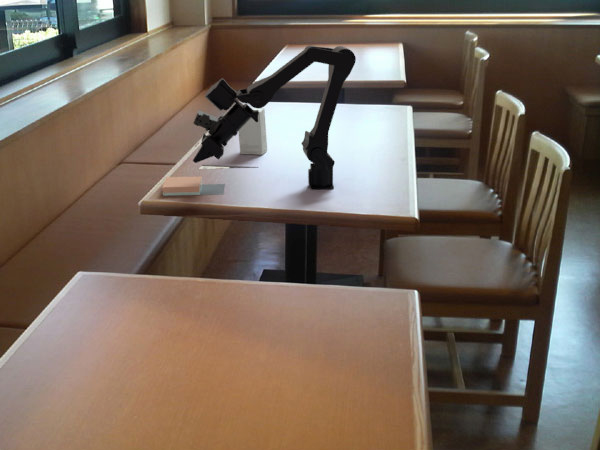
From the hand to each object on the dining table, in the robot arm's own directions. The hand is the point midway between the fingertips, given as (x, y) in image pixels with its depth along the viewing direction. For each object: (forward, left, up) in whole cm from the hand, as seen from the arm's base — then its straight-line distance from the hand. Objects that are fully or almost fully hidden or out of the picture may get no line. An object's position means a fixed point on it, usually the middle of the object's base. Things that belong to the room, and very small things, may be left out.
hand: (194, 161), depth 185 cm
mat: (-1, 0, -9) cm, 9 cm away
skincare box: (-16, -40, -9) cm, 43 cm away
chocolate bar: (-8, -19, -9) cm, 22 cm away
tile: (-1, 0, -7) cm, 7 cm away
